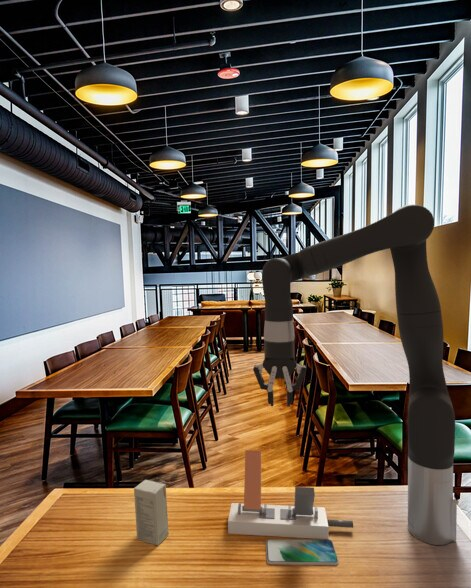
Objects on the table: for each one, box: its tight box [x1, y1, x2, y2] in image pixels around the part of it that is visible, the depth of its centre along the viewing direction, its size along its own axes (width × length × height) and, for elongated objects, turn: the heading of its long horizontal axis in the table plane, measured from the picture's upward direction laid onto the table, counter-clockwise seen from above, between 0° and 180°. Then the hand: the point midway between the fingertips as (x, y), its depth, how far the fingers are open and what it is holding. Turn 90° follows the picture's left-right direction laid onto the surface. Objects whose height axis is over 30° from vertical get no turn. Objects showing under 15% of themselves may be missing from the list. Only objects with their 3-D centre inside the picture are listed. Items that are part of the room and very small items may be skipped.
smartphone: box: [265, 538, 340, 566], centre depth 83 cm, size 7×1×15 cm
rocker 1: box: [242, 449, 263, 512], centre depth 94 cm, size 5×2×14 cm, turn 84°
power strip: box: [227, 502, 354, 540], centre depth 91 cm, size 29×7×5 cm, turn 84°
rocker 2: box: [293, 486, 316, 516], centre depth 86 cm, size 5×2×14 cm
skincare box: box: [133, 479, 169, 546], centre depth 88 cm, size 6×4×12 cm
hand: (280, 405), depth 96 cm, fingers open, 3 cm apart
